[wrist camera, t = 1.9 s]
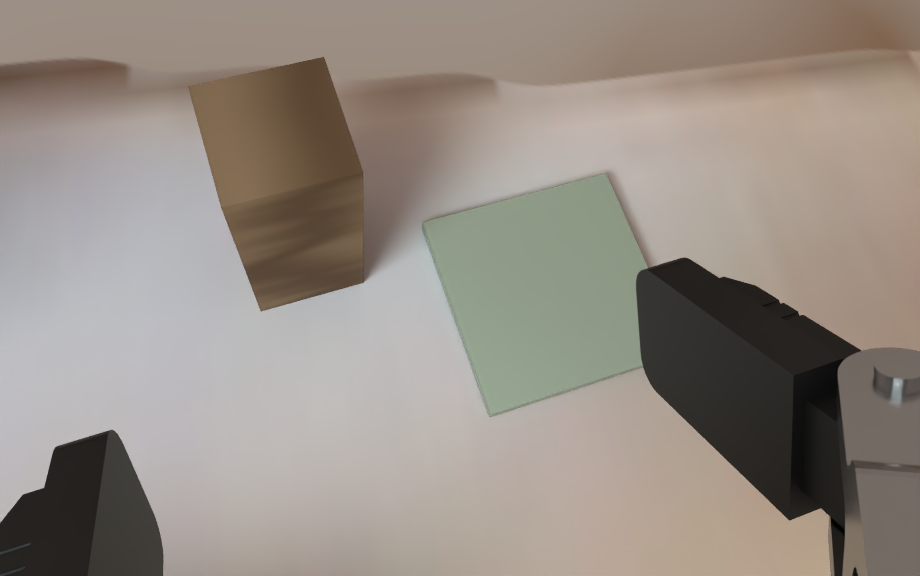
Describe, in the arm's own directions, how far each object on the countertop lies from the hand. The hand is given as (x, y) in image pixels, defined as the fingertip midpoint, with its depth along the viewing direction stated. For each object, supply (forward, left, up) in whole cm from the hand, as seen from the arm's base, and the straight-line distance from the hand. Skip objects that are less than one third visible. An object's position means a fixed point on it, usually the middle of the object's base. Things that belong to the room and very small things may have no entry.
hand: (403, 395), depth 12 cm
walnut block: (0, +12, -21) cm, 24 cm away
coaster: (+10, +7, -21) cm, 24 cm away
